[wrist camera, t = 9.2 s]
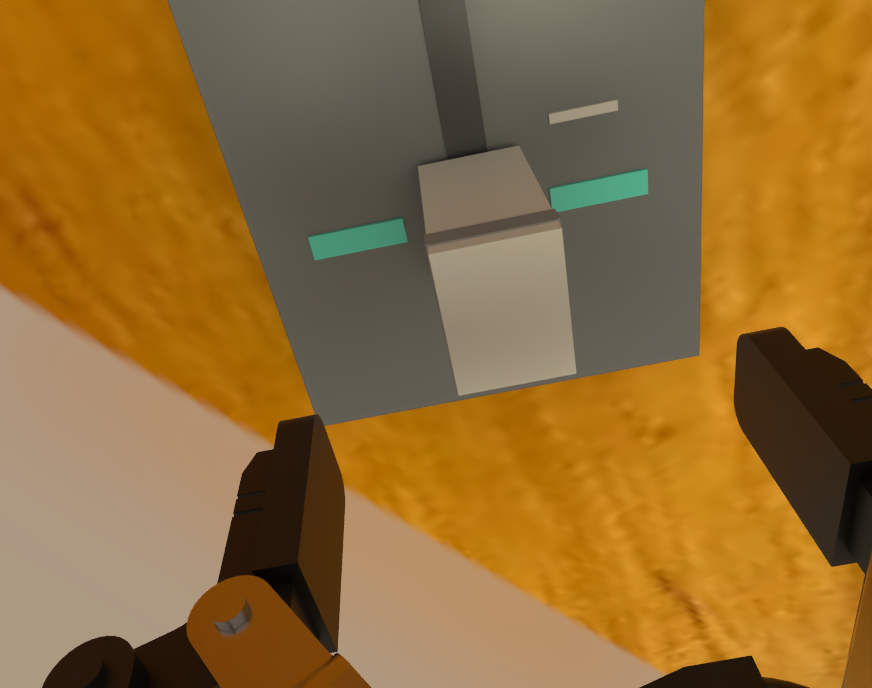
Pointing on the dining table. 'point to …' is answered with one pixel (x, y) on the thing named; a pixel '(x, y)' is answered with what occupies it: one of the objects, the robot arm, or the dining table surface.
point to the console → (448, 139)
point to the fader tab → (497, 271)
